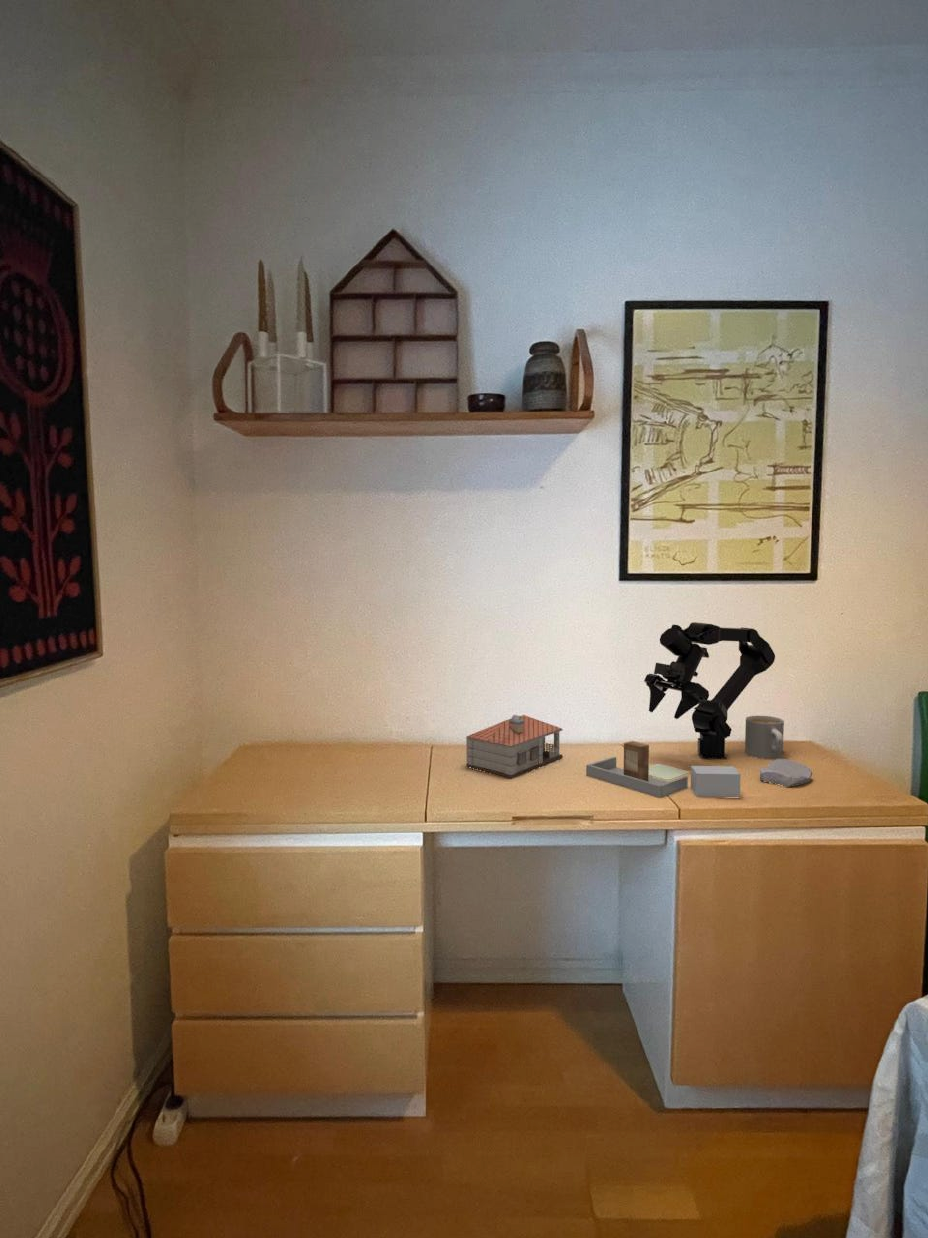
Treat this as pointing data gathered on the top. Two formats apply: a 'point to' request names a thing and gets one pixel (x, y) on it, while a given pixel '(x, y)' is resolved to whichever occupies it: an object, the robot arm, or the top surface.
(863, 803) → the top surface
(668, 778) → the pad
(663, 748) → the top surface
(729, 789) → the greyblue box
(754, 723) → the coffee mug
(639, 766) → the walnut box
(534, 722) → the model house
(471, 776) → the top surface
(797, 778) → the stone block
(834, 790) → the top surface
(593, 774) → the parts tray
